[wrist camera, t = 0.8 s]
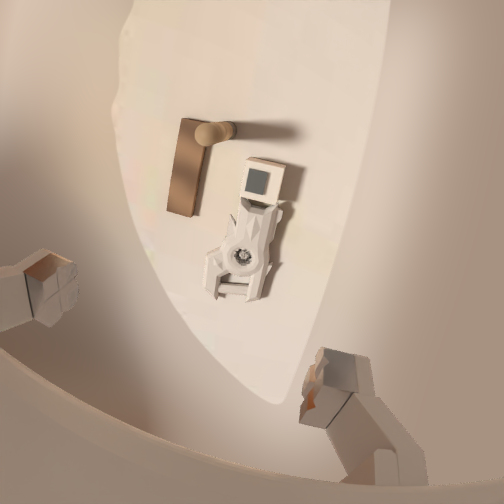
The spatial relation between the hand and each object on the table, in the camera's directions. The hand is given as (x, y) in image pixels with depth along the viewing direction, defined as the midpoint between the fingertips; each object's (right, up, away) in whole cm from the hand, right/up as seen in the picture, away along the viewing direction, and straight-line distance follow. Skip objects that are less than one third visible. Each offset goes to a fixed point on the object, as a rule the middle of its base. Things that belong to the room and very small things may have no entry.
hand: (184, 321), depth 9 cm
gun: (+1, +2, +39) cm, 39 cm away
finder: (+4, +12, +33) cm, 36 cm away
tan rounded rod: (-1, +19, +31) cm, 36 cm away
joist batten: (-7, +14, +34) cm, 38 cm away
